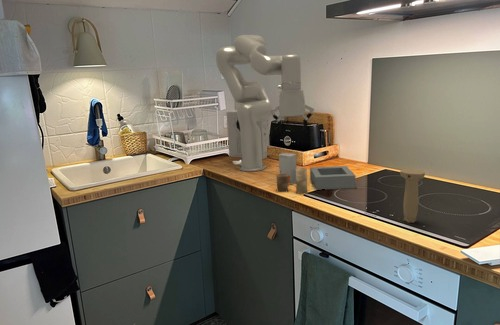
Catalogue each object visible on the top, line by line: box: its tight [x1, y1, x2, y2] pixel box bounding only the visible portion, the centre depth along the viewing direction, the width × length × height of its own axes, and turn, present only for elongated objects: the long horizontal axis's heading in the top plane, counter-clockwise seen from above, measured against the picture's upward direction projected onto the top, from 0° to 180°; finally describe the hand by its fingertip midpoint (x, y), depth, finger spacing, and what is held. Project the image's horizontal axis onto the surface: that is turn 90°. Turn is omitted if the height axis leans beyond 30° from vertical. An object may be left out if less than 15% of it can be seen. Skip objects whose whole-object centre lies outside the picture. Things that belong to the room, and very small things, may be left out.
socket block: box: [309, 165, 356, 191], centre depth 151 cm, size 15×15×5 cm
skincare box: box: [278, 152, 297, 186], centre depth 154 cm, size 6×4×12 cm
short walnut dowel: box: [276, 173, 289, 193], centre depth 145 cm, size 4×4×6 cm
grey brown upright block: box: [295, 167, 308, 195], centre depth 141 cm, size 4×4×9 cm
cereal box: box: [226, 109, 270, 160], centre depth 205 cm, size 22×8×25 cm, turn 60°
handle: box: [399, 168, 426, 223], centre depth 109 cm, size 5×6×15 cm
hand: (292, 130), depth 153 cm, fingers open, 9 cm apart
